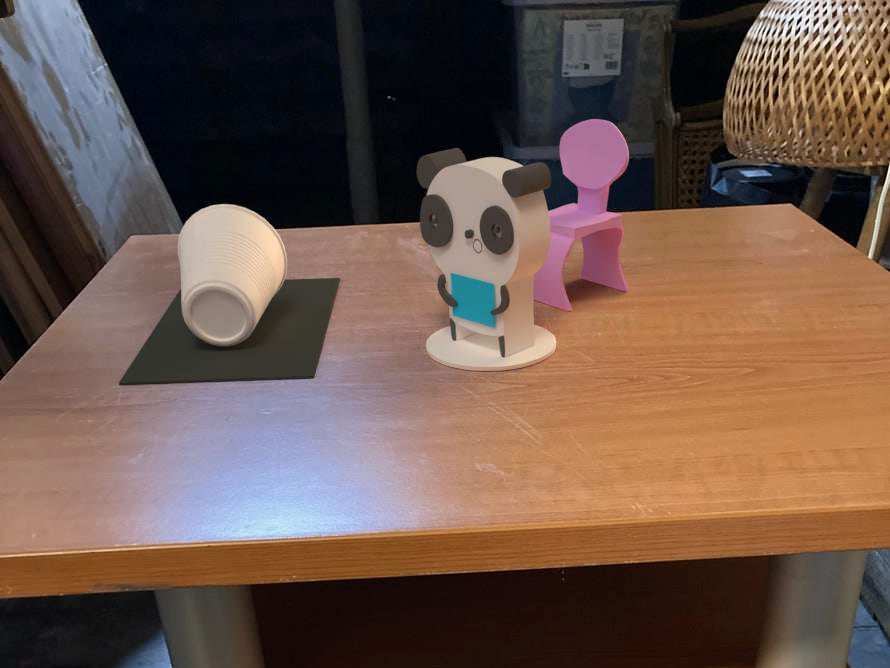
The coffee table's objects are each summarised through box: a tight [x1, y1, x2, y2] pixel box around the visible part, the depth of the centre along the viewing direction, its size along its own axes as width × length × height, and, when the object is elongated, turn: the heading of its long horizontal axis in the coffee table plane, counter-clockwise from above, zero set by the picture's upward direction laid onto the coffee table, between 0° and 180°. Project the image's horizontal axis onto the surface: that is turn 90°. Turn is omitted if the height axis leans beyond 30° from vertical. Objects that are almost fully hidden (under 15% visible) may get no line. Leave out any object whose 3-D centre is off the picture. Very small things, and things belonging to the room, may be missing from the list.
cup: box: [176, 203, 288, 347], centre depth 88 cm, size 10×10×11 cm
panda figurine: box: [416, 147, 557, 372], centre depth 82 cm, size 12×11×15 cm
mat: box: [118, 277, 341, 386], centre depth 92 cm, size 26×16×1 cm, turn 2°
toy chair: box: [533, 118, 630, 312], centre depth 93 cm, size 8×9×15 cm
